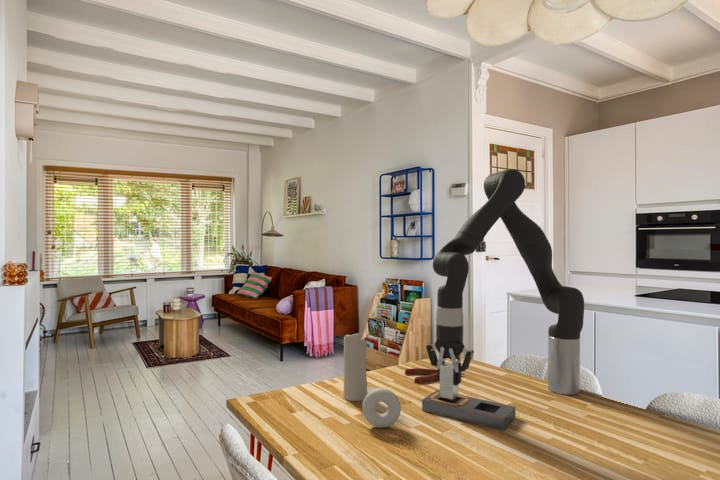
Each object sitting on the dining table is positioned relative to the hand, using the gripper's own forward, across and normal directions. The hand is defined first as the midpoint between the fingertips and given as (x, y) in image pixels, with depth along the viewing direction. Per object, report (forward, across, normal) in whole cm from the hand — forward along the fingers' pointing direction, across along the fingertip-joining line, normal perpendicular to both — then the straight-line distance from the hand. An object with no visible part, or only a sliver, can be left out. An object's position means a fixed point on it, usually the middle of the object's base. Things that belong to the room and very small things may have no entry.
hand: (449, 382), depth 127 cm
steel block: (+4, 0, 0) cm, 4 cm away
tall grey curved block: (+8, +27, +4) cm, 29 cm away
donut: (+8, +9, +21) cm, 24 cm away
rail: (+8, -6, 0) cm, 9 cm away
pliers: (+8, +15, -23) cm, 29 cm away
